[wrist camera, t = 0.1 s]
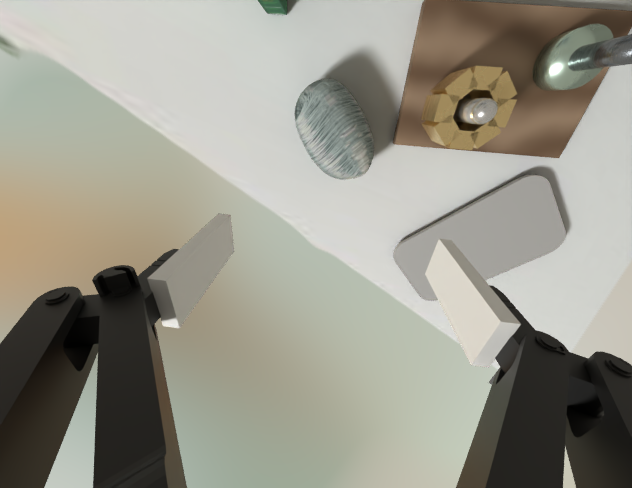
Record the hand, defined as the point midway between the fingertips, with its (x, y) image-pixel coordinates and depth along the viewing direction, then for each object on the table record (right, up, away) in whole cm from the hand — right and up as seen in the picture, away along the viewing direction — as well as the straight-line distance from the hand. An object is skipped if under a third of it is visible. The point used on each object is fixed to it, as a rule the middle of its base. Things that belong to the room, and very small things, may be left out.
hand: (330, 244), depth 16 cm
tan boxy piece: (+17, +17, +16) cm, 29 cm away
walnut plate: (+23, +21, +18) cm, 36 cm away
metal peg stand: (+30, +23, +15) cm, 40 cm away
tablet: (+28, +1, +30) cm, 41 cm away
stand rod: (+17, +19, +18) cm, 31 cm away
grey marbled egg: (+2, +18, +22) cm, 29 cm away
